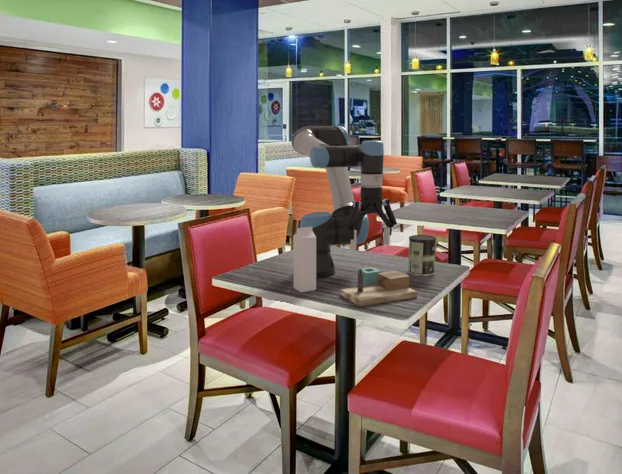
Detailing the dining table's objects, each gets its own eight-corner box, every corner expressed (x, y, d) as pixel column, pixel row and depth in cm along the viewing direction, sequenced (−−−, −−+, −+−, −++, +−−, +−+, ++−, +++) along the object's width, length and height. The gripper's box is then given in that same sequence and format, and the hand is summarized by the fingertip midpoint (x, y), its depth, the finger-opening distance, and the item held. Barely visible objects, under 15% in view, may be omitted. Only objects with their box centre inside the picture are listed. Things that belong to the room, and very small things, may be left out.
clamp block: (376, 284, 189) (377, 273, 188) (396, 281, 193) (396, 270, 192) (389, 290, 182) (390, 279, 181) (409, 287, 186) (409, 276, 185)
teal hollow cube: (357, 285, 195) (357, 269, 194) (371, 283, 198) (372, 267, 197) (366, 289, 190) (366, 273, 189) (380, 287, 193) (381, 271, 192)
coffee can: (434, 270, 216) (436, 235, 213) (434, 277, 206) (436, 240, 203) (408, 268, 218) (409, 234, 215) (407, 275, 208) (408, 239, 205)
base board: (340, 295, 184) (340, 267, 182) (395, 286, 194) (395, 260, 192) (360, 306, 173) (360, 277, 171) (417, 297, 182) (418, 269, 180)
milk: (293, 288, 192) (292, 226, 188) (308, 285, 195) (308, 225, 191) (301, 292, 187) (300, 229, 183) (316, 290, 190) (316, 227, 185)
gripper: (345, 189, 178) (344, 252, 183) (408, 185, 189) (405, 245, 193) (334, 186, 185) (333, 247, 189) (395, 183, 196) (393, 241, 200)
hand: (370, 246), depth 191 cm, fingers open, 13 cm apart
